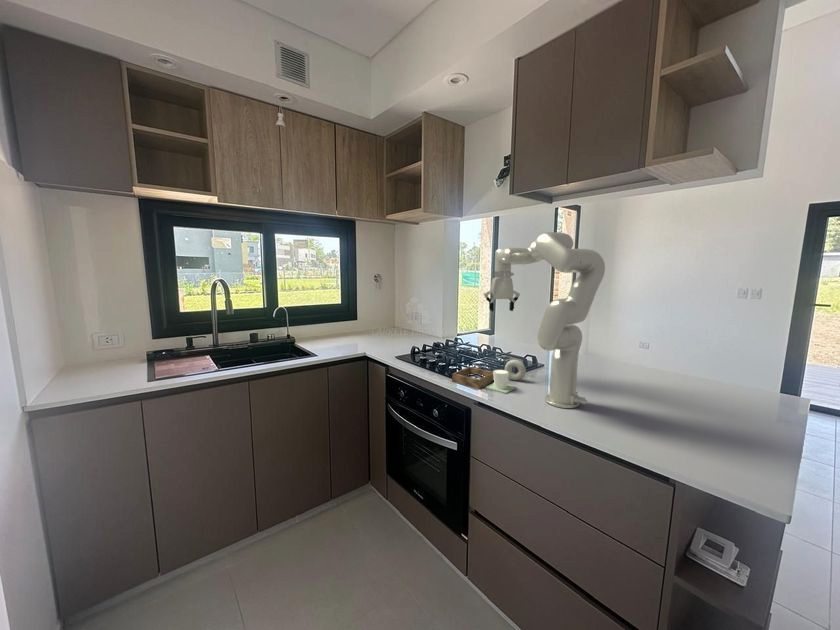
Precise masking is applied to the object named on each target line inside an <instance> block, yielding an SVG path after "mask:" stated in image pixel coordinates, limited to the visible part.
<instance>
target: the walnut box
mask: <svg viewBox="0 0 840 630" xmlns="http://www.w3.org/2000/svg"><path fill="white" fill-rule="evenodd" d="M468 374H479V375H483V376H485V377H483V378H474V377H472V376H471V377H470V376H466V375H468ZM451 379H452V380H451V382H452V383H455V384H459V385H463V386H466V387H470V388H472V389H473V388H474V389H478V390H480V389H483V388H485V387H487V386H489V385H490V384H492V383H493V382H492V381H493V380H494V377H493V371H490V370H487V369H481V368H477V367H471V366H467V367H465V368H463V369H460V370H457V371H455V372H454V373H452V376H451ZM491 382H492V383H491Z"/></svg>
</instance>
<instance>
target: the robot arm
mask: <svg viewBox="0 0 840 630" xmlns="http://www.w3.org/2000/svg"><path fill="white" fill-rule="evenodd" d="M542 260H545V261H546V262H547V263H548V265H550V266H552V267H553V268H554V269H555V270H557V271H558V272H560V273H564V274H568V273H571V274H574V273H579V275H578V277H576V279H575V280H574V281H573V283H572V284H571V286H570V290H569V291H568V294H567V296H566V297H565V298H558V299H554V300H552V301H550V303H549V304H547V306H546V308H545V310H544V313H543V317H542V319H541V322H540V326H539V329H538V331H537V342H538V343H537V344H538V345H539V347H540V348H541V349H543V350H544V351H552V354H551V361H550V377H549V379H550V380H549V393H548V394H547V395H545V397H544V400H545V402H546V403H547V404H548V405H550V406H553V407H555V408H560V409H561V408H562V409H574V408H577V407H579V406H580V404H582V405H585V406H586V405H587V404H588V399H586V397H584V396H580V395H579V392H578V391H577V381H578V380H577V379H578V377H577V376H578V366H579V365H578V364H579V353H580V349H581V346H582V342H583V332H582V330H581V329H580V328H579V326H578V325H576V324H579V323H582V322H584V321H585V320H586V319H587V317H588V316H589V315H588V314H589V312H590V310H591V306H592V304H593V301H594V300H595V296H596V294H597V291H598V289H599V287H600V285H601V283H602V281H603V278H604V276H605V272H606V264H605V260H604V259H603V257H602V255H601V254H600V253H599V252H597V251H595V250H593V249H589V248H574V239H573V238H572V236H570V234H568V233H565V232H554V231H553V232H552V231H547V232H542V233H541V234H540V235H539V236H537V238H536V239H535V240H533V241H532V242H531V243H530V246H529V247H507V248H499V249H496V250H495V254H494V277H493V278H492V280H491V285H490V290H489V291H487V292H485V293H484V294H483V295H484V298H485V300H487V302H488V303H489V307H488V308H489V310H490V311H491V312H494V309H495V308H494V306H495V304H494V301H495V300H509V308H508V309H509V311H510V312H514V309H515V304H516V301H517V300H518V299H519V297H520V295H521V293H519V292H518V291H516V290H514V281H513V278H512V277H513V276H514V272H512V265H521V266H522V265H530V264H535V263H539V262H540V261H542ZM489 295H490V297H489ZM514 295H515V297H514Z"/></svg>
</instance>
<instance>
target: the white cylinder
mask: <svg viewBox="0 0 840 630" xmlns="http://www.w3.org/2000/svg"><path fill="white" fill-rule="evenodd" d="M492 372H493V377H494V382H493V383H494V387H495V388H497V389H506V388H507V384H509V383H508V382H509V372H508V371H506V370H505V369H494V370H492Z"/></svg>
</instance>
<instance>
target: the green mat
mask: <svg viewBox="0 0 840 630" xmlns="http://www.w3.org/2000/svg"><path fill="white" fill-rule="evenodd" d="M484 388H485V389H486V390H490V391H493V392H498V393H501V394H505V395H506V394H509V393H511V391H513V390H515V389H516V388H517V385H513V384H509V383H508V384H507V388H506V389H497V388H495V387H494V382H492V383H490V384H488V385H486V386H484Z"/></svg>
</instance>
